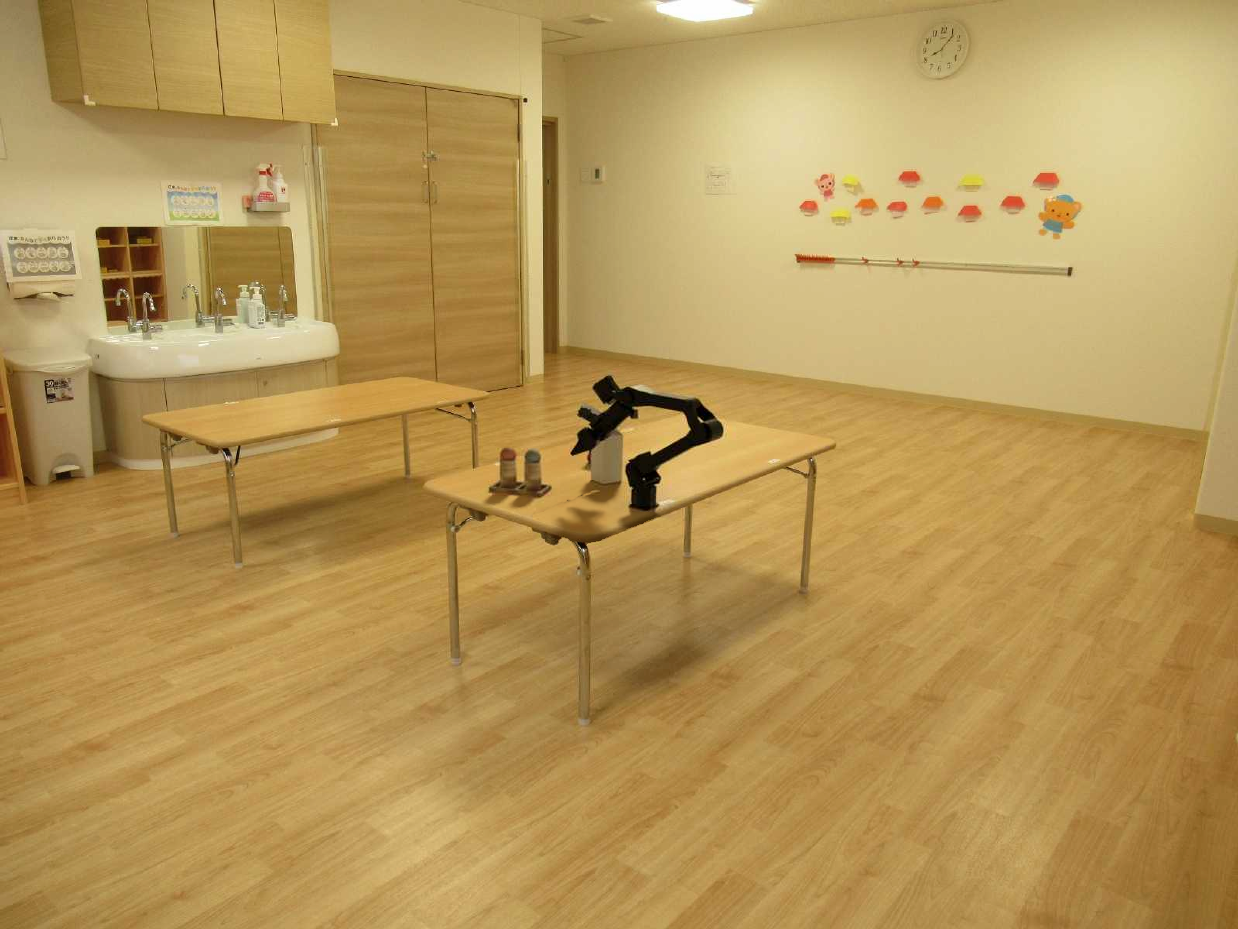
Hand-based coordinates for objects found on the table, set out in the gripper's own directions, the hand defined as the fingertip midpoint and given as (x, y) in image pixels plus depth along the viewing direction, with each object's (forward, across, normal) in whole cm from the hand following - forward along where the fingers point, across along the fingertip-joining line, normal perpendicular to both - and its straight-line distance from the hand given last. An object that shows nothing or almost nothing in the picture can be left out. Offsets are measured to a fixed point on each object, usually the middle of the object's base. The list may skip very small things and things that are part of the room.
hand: (576, 450), depth 262 cm
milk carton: (+7, -18, +12) cm, 23 cm away
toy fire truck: (+12, -38, +8) cm, 40 cm away
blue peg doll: (+18, +3, 0) cm, 18 cm away
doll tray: (+21, +3, -2) cm, 21 cm away
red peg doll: (+23, +3, -5) cm, 24 cm away
